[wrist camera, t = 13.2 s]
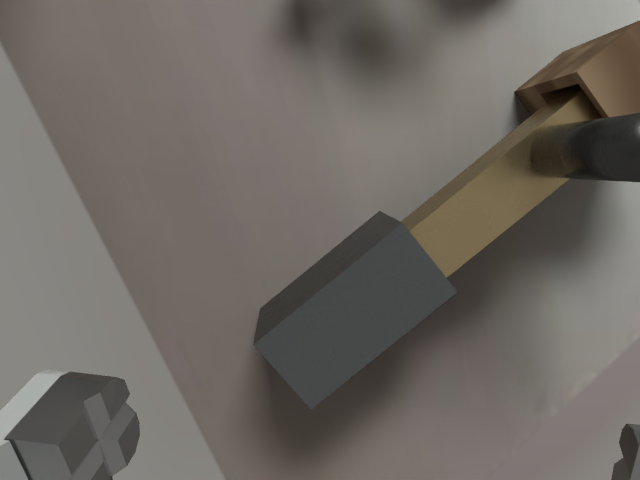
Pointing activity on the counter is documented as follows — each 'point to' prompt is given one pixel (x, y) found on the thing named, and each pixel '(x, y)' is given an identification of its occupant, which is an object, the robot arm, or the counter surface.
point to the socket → (593, 74)
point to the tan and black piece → (525, 175)
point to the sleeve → (349, 308)
